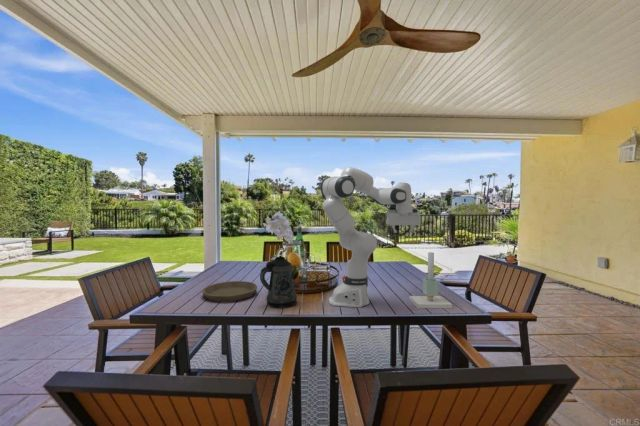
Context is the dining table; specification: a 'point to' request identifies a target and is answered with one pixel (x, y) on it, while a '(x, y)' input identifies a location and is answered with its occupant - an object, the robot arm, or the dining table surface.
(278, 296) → the beer stein
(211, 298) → the plant saucer
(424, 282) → the sleeve
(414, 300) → the post stand
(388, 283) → the dining table surface
